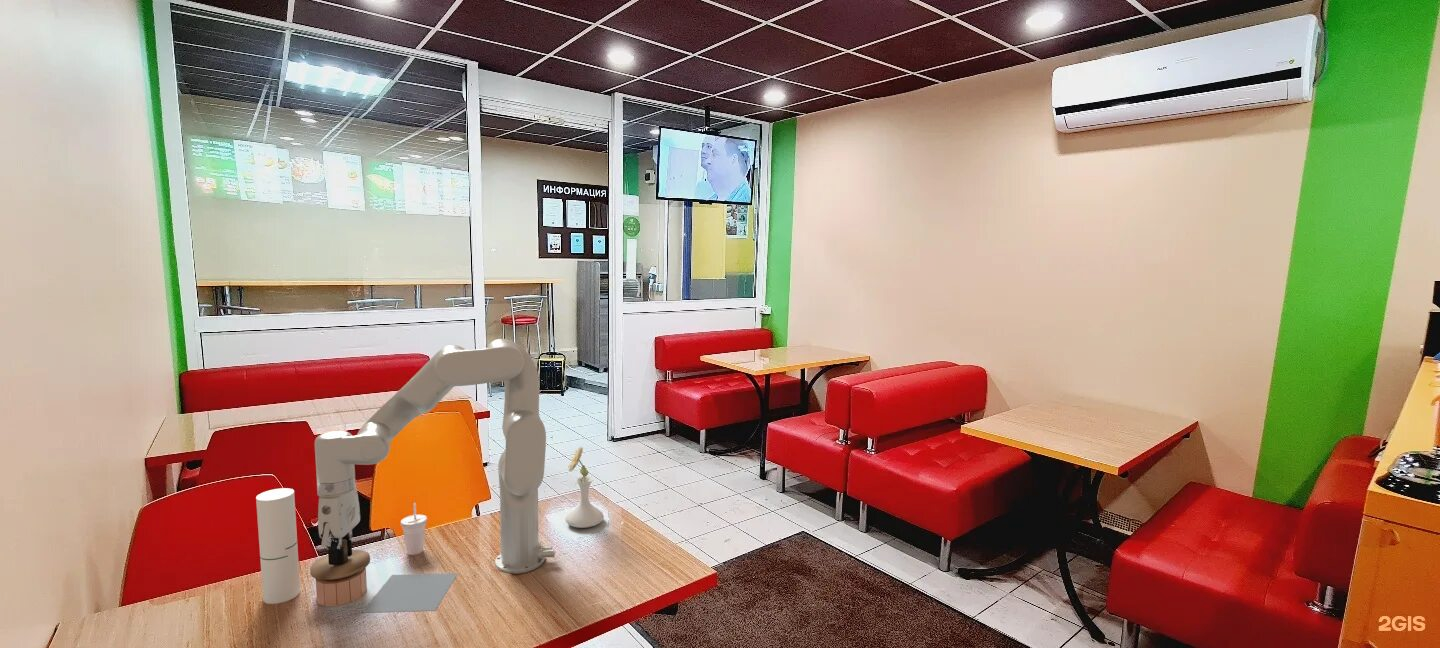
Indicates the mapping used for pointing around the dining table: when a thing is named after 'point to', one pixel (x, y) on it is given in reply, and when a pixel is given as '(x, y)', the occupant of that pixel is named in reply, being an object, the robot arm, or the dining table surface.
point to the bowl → (341, 589)
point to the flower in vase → (583, 499)
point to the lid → (349, 567)
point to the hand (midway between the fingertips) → (340, 559)
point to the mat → (411, 593)
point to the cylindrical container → (278, 545)
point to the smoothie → (414, 532)
